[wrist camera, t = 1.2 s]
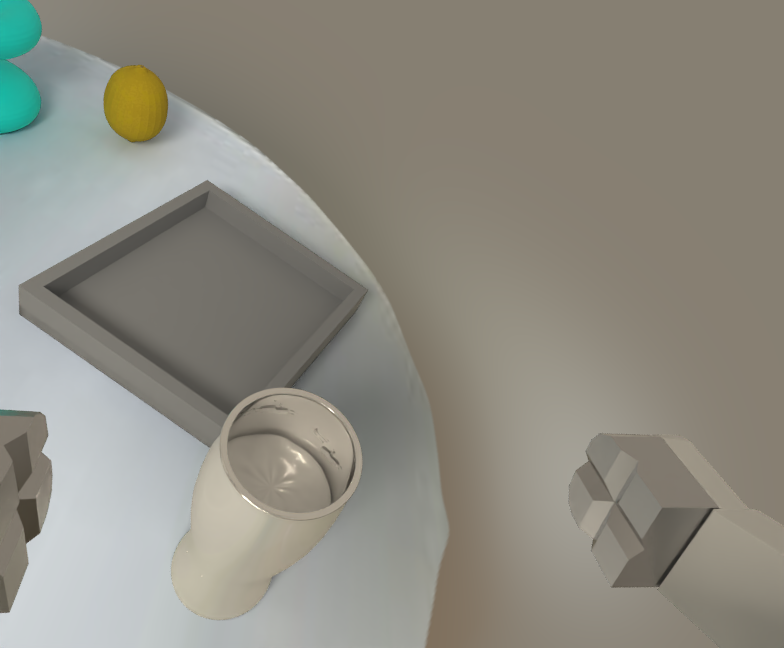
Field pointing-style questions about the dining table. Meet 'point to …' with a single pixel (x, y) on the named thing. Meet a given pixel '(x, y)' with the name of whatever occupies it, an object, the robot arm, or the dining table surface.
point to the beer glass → (263, 498)
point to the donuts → (5, 80)
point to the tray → (194, 307)
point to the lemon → (135, 103)
